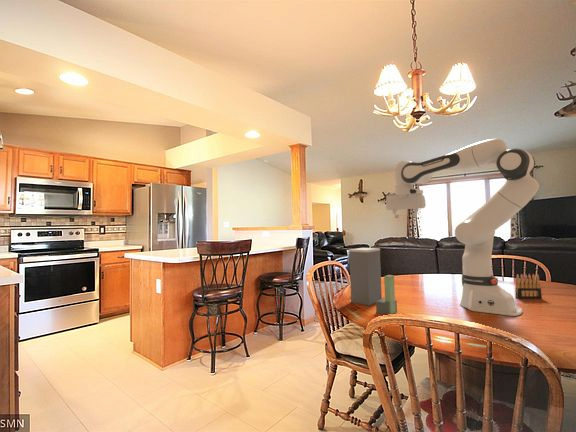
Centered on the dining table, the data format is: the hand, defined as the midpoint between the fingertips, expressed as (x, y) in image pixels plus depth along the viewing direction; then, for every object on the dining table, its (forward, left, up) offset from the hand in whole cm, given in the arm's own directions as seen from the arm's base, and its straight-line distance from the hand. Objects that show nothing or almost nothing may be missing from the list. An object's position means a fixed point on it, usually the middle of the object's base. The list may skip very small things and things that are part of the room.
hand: (405, 217), depth 157 cm
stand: (+11, +24, -41) cm, 49 cm away
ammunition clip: (-46, -31, -41) cm, 69 cm away
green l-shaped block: (-8, +34, -33) cm, 48 cm away
